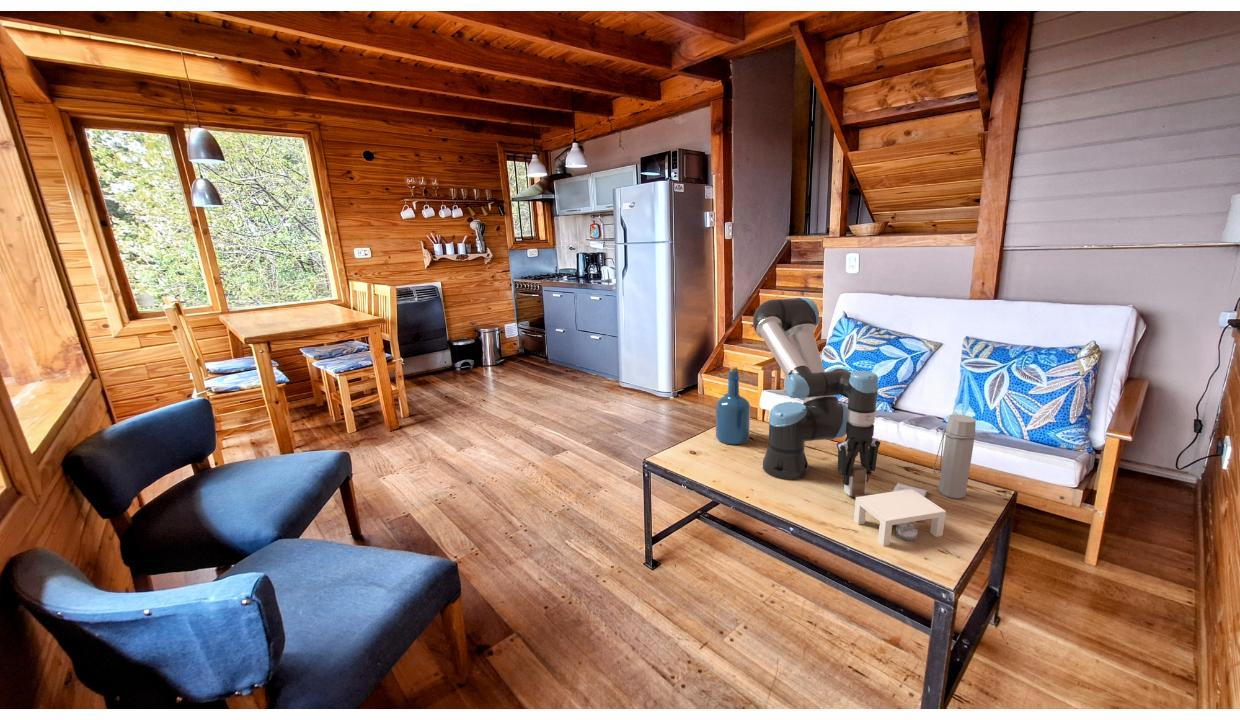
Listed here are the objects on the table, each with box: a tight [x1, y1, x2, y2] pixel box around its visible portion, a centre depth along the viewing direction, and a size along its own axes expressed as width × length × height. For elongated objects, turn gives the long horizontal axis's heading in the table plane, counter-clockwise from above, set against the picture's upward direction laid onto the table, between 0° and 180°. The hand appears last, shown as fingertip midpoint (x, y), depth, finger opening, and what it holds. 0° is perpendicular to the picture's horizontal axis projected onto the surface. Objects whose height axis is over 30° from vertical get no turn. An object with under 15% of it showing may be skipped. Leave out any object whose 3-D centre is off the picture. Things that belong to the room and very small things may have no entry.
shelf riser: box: [853, 489, 947, 547], centre depth 134 cm, size 12×18×8 cm, turn 101°
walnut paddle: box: [851, 463, 897, 527], centre depth 144 cm, size 20×4×9 cm, turn 11°
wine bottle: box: [715, 366, 751, 445], centre depth 193 cm, size 14×13×30 cm
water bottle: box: [933, 413, 976, 499], centre depth 148 cm, size 9×8×25 cm
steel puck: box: [895, 522, 919, 542], centre depth 131 cm, size 5×5×2 cm
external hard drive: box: [891, 482, 927, 498], centre depth 149 cm, size 2×8×12 cm
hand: (854, 492), depth 152 cm, fingers closed on walnut paddle, 4 cm apart
